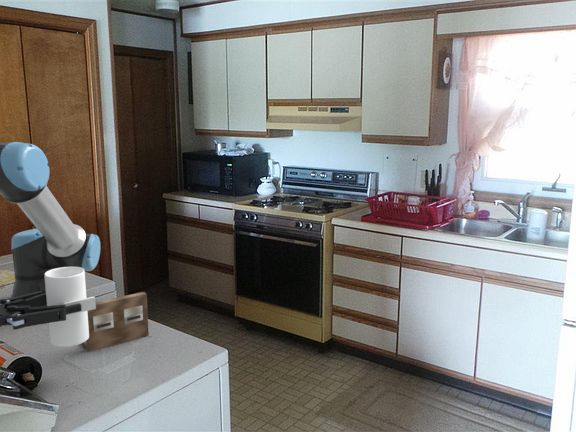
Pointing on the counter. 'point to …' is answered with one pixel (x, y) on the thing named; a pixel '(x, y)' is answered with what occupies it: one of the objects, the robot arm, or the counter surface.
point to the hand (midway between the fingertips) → (88, 297)
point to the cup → (59, 290)
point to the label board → (117, 321)
